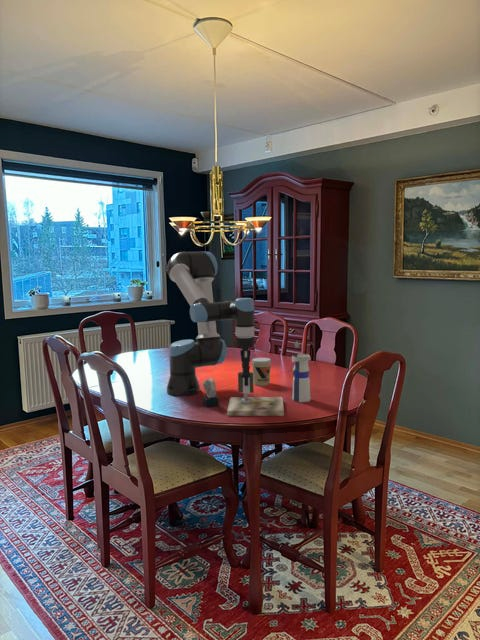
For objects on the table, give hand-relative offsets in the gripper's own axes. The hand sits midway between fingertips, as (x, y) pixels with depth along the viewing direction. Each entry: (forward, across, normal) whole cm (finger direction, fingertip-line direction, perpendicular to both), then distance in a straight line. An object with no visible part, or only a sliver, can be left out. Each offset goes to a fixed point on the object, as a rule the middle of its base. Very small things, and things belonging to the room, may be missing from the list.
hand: (245, 388), depth 197 cm
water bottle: (+8, +9, -24) cm, 27 cm away
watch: (+8, +5, +15) cm, 18 cm away
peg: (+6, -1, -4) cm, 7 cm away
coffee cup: (+8, +36, -9) cm, 38 cm away
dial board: (+8, -1, -4) cm, 9 cm away
